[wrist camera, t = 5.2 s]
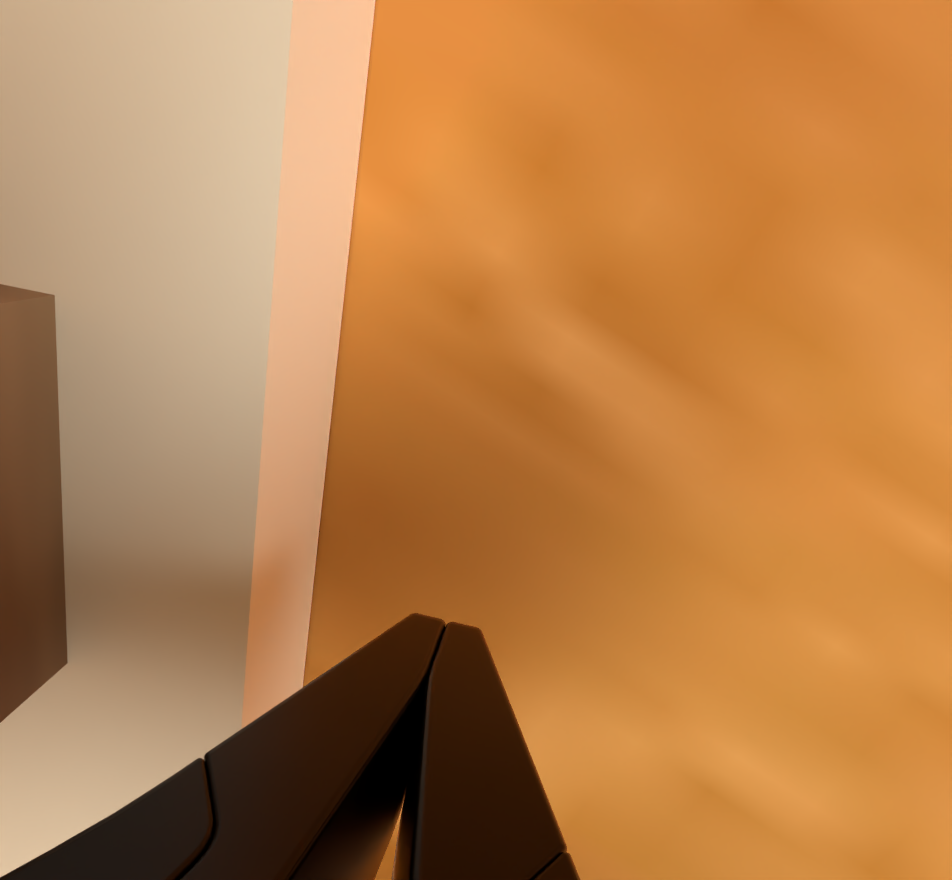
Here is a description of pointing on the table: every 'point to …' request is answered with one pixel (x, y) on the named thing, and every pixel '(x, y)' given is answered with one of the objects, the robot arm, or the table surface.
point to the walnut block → (29, 499)
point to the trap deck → (176, 366)
